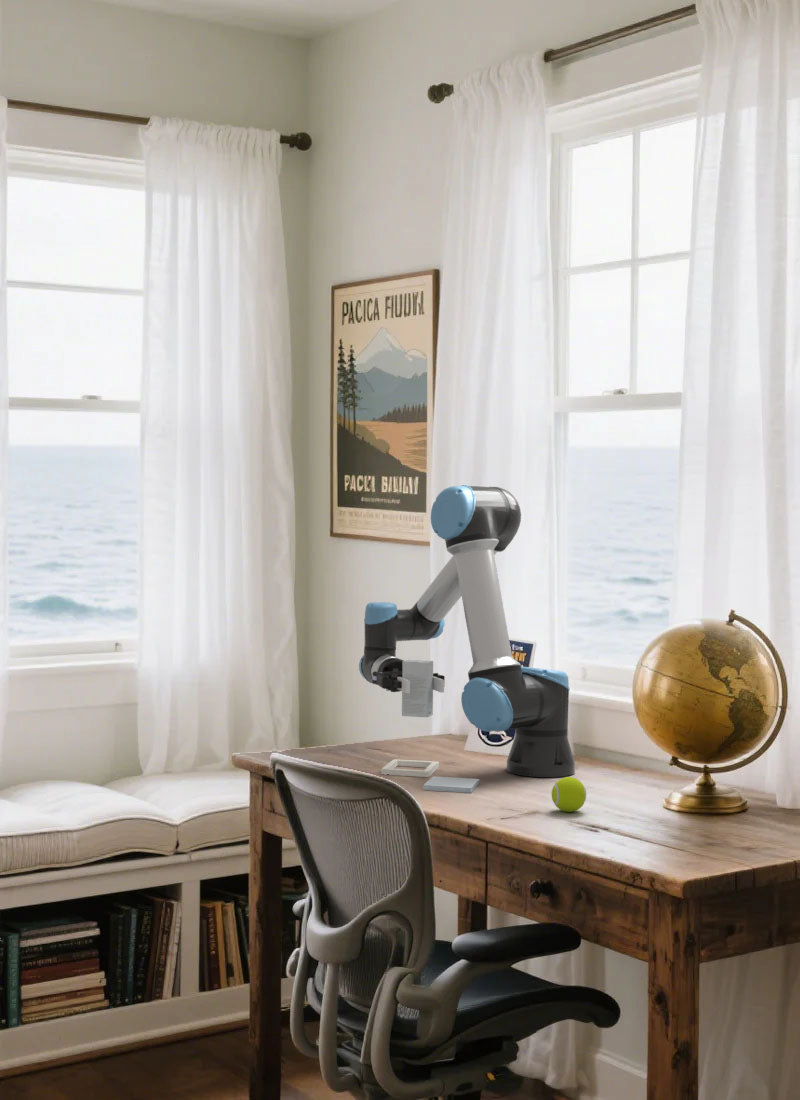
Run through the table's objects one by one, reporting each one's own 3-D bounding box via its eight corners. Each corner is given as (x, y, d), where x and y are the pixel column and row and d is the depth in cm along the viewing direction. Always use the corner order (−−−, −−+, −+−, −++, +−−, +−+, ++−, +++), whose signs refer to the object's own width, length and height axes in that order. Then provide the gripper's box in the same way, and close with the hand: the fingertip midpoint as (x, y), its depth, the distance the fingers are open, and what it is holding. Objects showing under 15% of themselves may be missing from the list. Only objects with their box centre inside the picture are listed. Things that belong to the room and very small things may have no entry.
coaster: (479, 783, 297) (479, 779, 297) (471, 792, 287) (471, 788, 287) (432, 780, 299) (432, 776, 299) (423, 789, 289) (423, 785, 289)
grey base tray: (438, 767, 315) (438, 761, 315) (428, 777, 303) (428, 771, 303) (393, 764, 318) (393, 759, 318) (380, 774, 305) (381, 768, 305)
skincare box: (433, 715, 306) (434, 660, 306) (427, 718, 302) (428, 662, 302) (406, 713, 308) (407, 659, 308) (400, 716, 304) (402, 661, 304)
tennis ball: (547, 808, 274) (547, 774, 274) (580, 807, 275) (580, 773, 275) (556, 815, 267) (557, 780, 267) (590, 815, 268) (591, 780, 268)
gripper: (432, 689, 325) (468, 702, 303) (350, 690, 319) (380, 705, 297) (433, 656, 325) (469, 668, 303) (350, 658, 319) (381, 669, 297)
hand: (425, 686), depth 300 cm, fingers closed on skincare box, 7 cm apart
